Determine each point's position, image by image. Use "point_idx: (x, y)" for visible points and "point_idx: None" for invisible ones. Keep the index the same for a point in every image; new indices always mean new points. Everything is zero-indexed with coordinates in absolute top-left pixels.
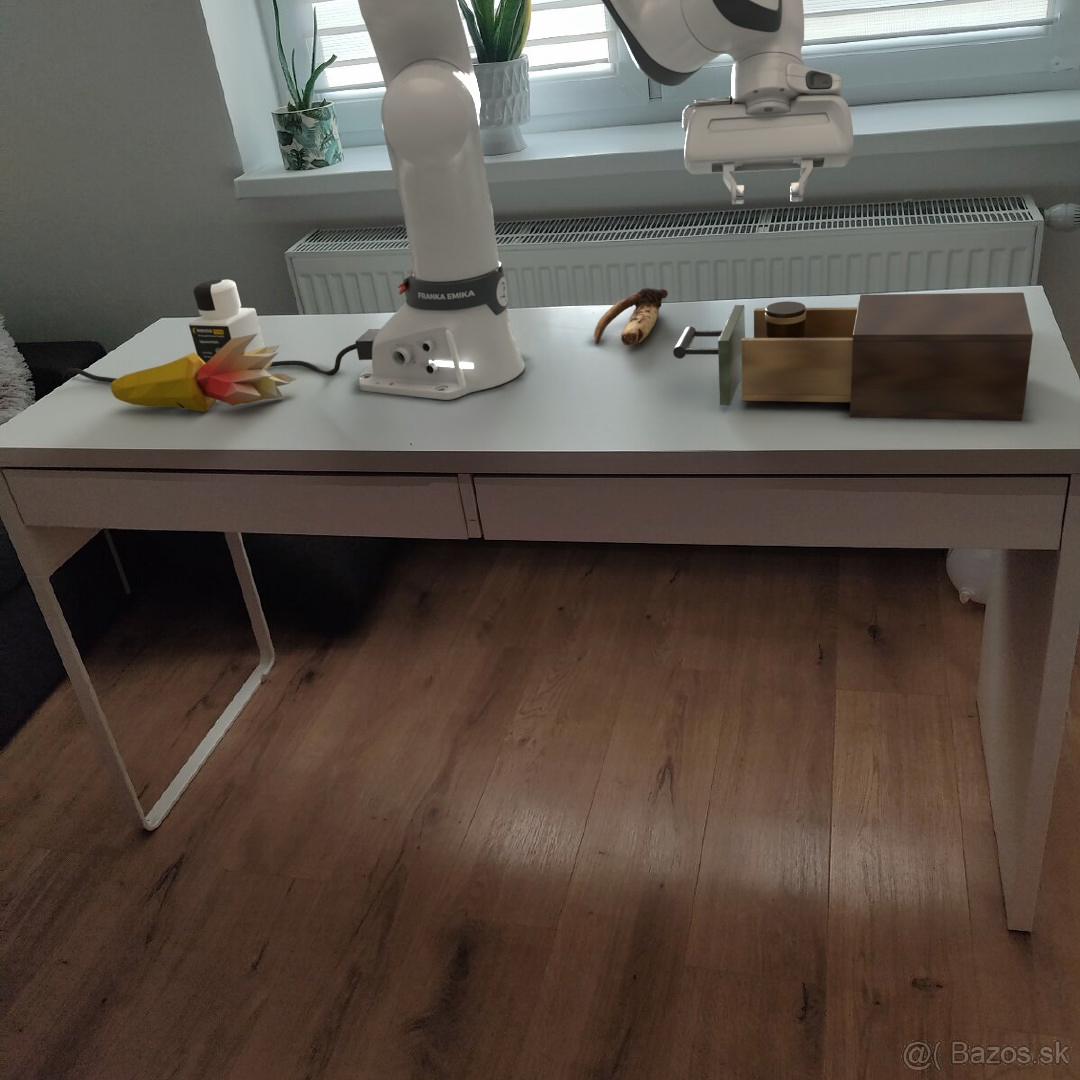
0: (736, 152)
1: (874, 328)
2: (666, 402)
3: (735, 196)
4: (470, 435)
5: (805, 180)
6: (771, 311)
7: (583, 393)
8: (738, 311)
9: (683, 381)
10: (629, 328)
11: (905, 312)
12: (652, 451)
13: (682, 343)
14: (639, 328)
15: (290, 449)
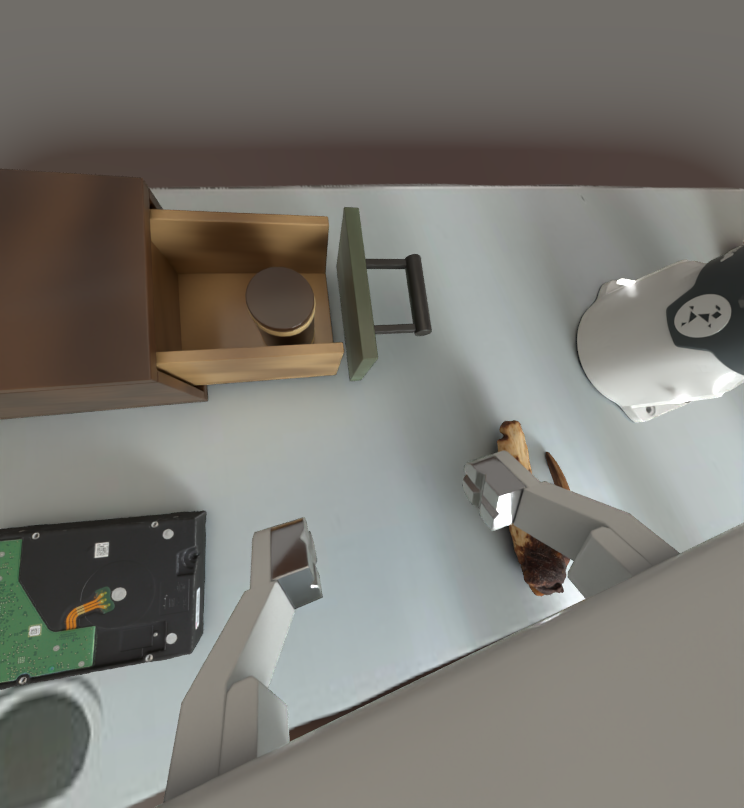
0: (700, 613)
1: (105, 200)
2: (408, 293)
3: (497, 454)
4: (547, 215)
5: (239, 600)
6: (299, 276)
7: (497, 310)
8: (363, 328)
9: (410, 350)
10: (520, 440)
11: (46, 277)
12: (383, 185)
13: (414, 265)
14: (508, 440)
15: (658, 189)
